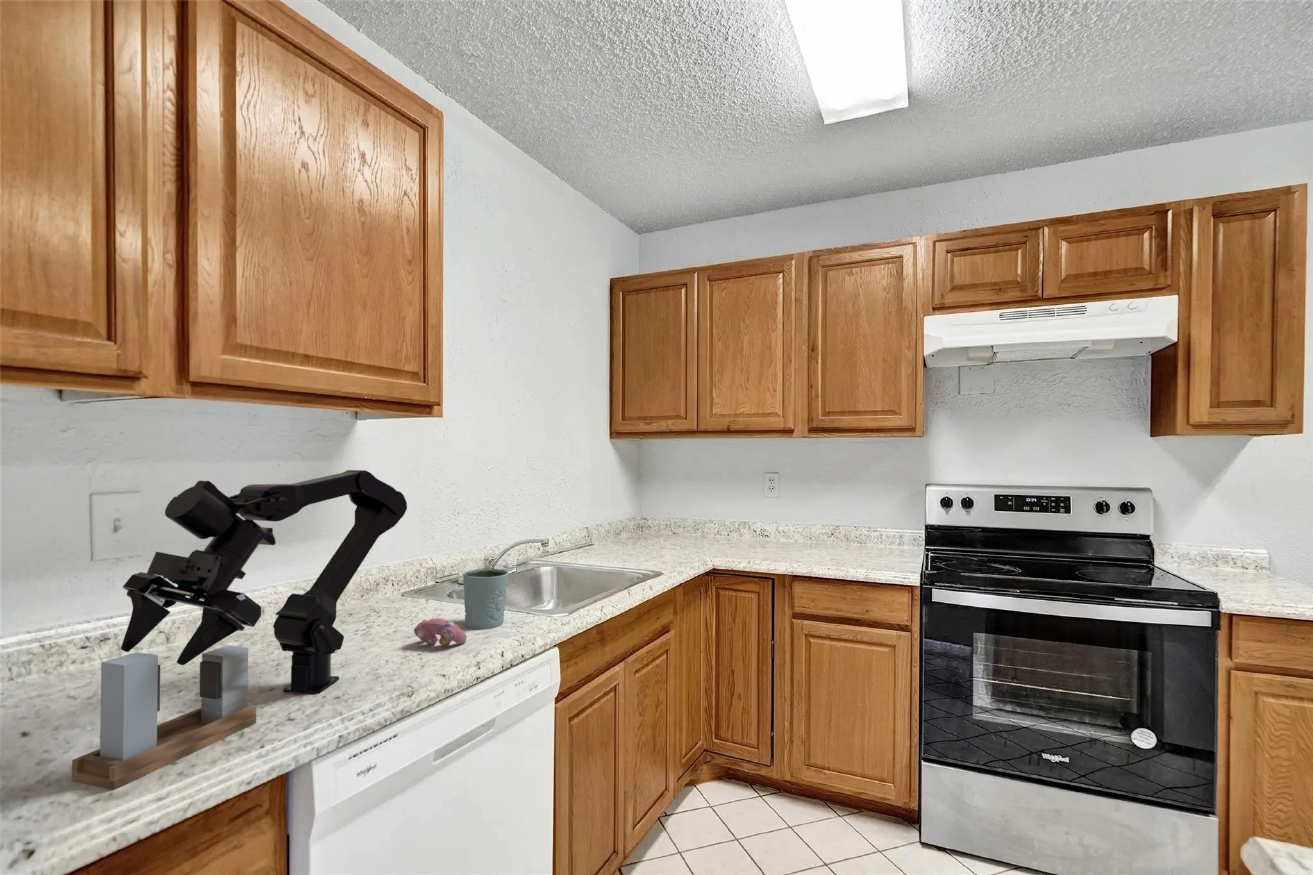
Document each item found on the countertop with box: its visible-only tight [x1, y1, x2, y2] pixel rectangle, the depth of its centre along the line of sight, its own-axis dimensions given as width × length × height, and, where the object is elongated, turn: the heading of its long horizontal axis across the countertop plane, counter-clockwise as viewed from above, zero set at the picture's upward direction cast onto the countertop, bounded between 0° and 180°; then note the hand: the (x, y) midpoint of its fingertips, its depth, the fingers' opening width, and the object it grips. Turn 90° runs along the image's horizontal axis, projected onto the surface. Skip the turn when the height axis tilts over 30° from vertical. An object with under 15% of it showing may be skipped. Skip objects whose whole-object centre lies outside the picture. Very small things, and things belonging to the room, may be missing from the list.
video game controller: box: [413, 618, 467, 648], centre depth 130 cm, size 10×5×7 cm, turn 77°
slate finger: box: [99, 651, 161, 761], centre depth 80 cm, size 5×4×13 cm
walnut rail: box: [71, 645, 257, 791], centre depth 85 cm, size 19×7×11 cm, turn 164°
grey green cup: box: [462, 568, 509, 630], centre depth 146 cm, size 10×10×12 cm
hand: (151, 657), depth 84 cm, fingers open, 9 cm apart
